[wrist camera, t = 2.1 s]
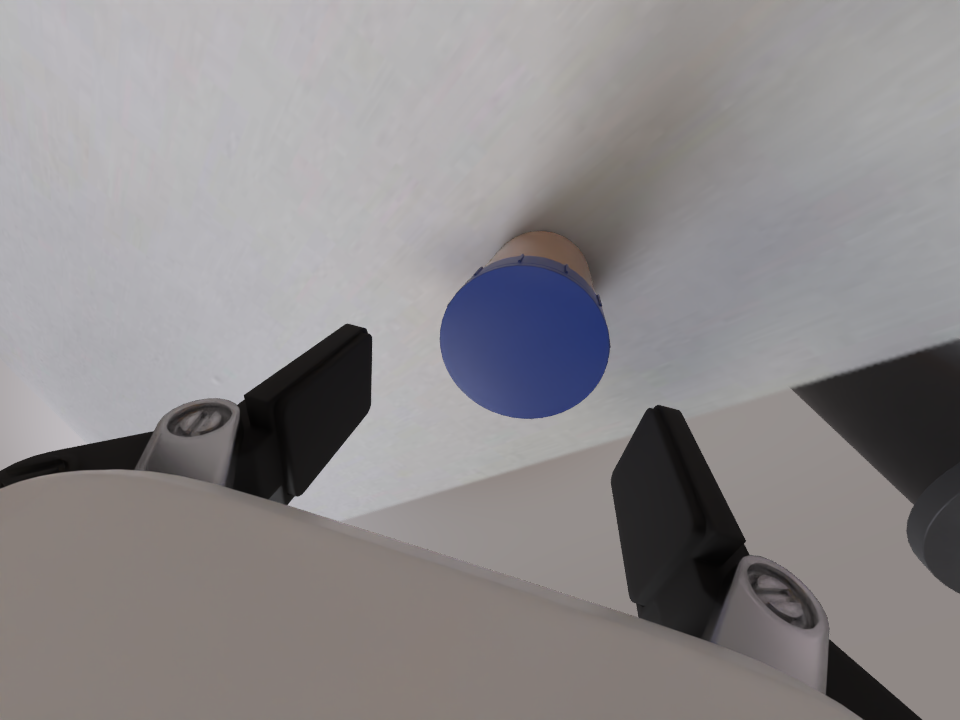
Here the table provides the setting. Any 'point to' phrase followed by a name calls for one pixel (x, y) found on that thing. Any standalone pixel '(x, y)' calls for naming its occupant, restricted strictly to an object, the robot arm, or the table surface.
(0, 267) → the table surface
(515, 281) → the jar lid
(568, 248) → the jam jar
